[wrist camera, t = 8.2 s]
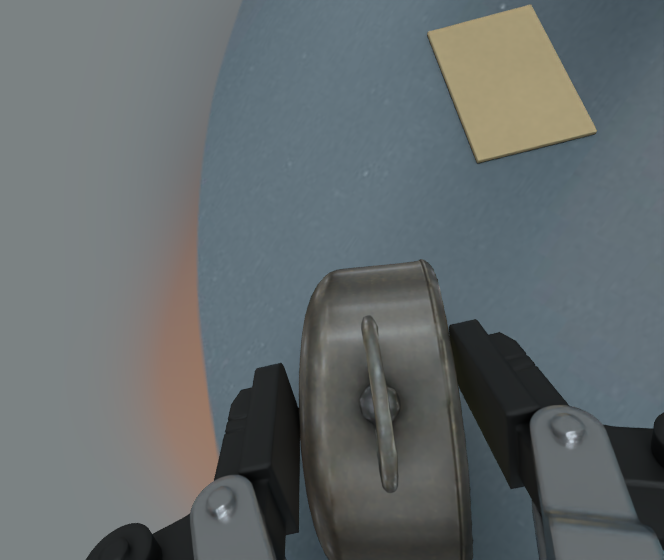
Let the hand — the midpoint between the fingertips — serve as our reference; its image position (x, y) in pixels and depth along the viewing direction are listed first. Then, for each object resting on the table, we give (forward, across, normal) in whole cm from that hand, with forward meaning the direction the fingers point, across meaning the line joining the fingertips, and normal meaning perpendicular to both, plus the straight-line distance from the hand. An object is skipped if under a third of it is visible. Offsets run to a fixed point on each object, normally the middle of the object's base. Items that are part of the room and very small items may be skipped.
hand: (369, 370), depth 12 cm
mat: (+23, -14, -5) cm, 27 cm away
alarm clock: (+7, 0, +9) cm, 11 cm away
